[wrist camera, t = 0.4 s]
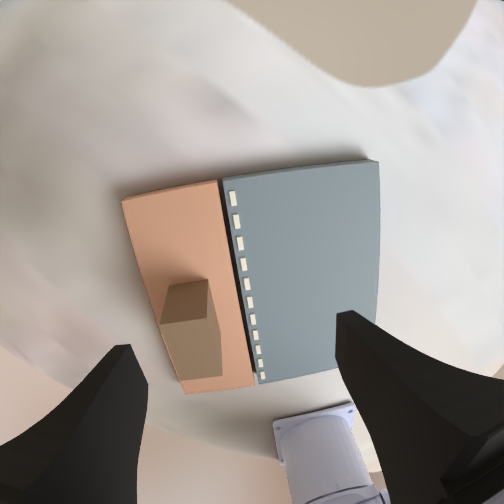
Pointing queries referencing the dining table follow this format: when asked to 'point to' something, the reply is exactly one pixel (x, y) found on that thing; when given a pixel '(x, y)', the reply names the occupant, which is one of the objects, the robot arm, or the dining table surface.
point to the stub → (191, 284)
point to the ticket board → (304, 259)
